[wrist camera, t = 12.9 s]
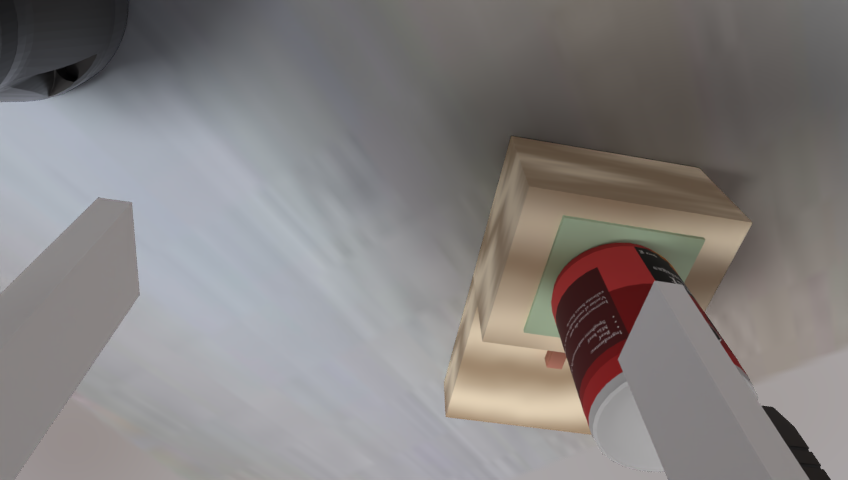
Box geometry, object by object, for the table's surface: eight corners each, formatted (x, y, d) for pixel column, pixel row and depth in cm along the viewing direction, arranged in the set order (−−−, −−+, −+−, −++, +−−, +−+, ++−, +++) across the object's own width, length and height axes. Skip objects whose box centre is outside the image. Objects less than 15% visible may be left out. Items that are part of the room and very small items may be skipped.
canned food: (681, 316, 39) (766, 452, 30) (563, 348, 40) (607, 489, 31) (664, 221, 35) (755, 342, 26) (535, 260, 37) (576, 389, 27)
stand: (591, 401, 55) (617, 478, 48) (444, 382, 53) (447, 459, 46) (699, 167, 43) (755, 225, 36) (511, 135, 41) (530, 188, 34)
